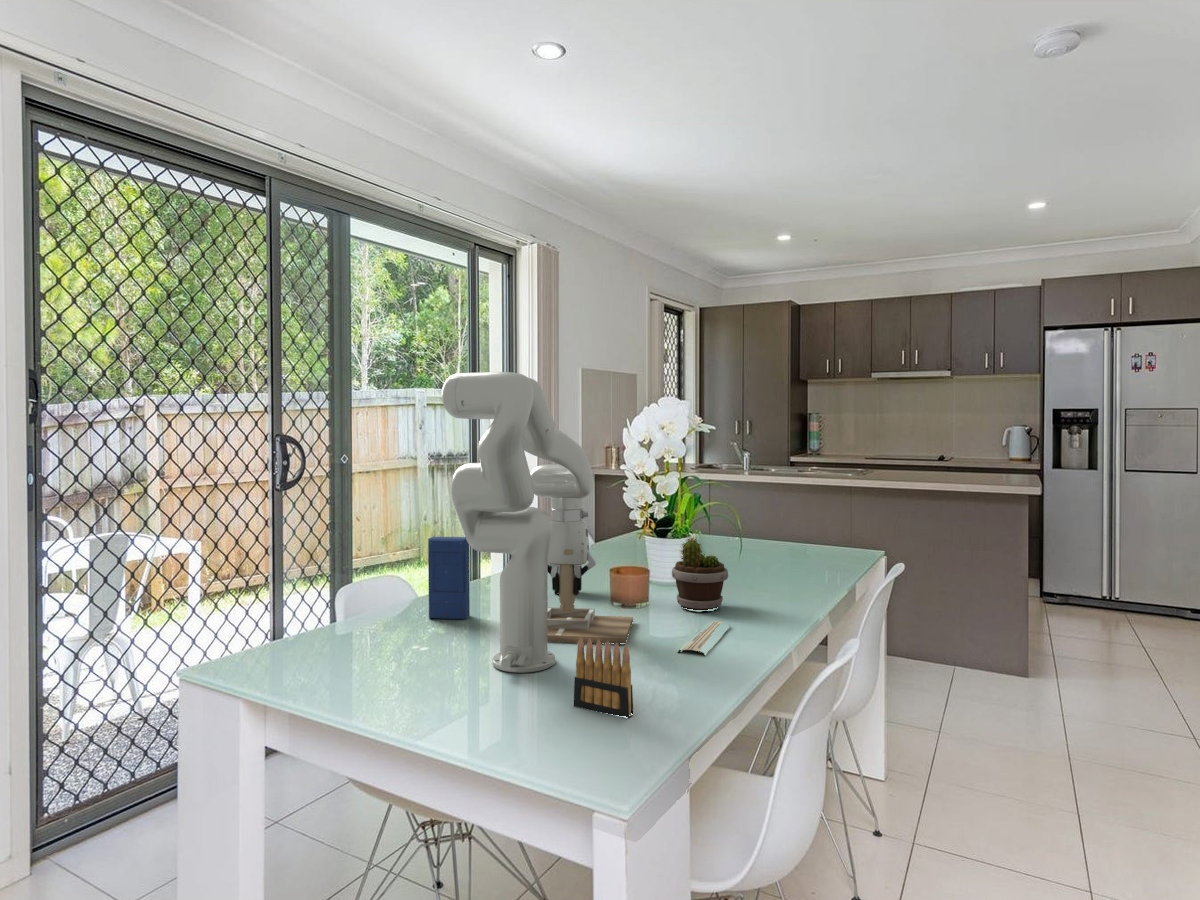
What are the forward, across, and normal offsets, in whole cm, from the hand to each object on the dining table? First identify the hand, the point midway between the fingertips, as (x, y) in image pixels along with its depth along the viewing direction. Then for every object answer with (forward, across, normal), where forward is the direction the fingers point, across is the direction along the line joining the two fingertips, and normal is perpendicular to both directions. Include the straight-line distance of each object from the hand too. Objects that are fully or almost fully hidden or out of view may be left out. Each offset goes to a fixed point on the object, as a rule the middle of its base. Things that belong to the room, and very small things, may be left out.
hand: (566, 592), depth 171 cm
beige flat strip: (+9, -32, +4) cm, 34 cm away
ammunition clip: (+9, -15, +48) cm, 51 cm away
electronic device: (+9, +31, -6) cm, 33 cm away
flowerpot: (+9, -31, -24) cm, 40 cm away
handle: (+4, 0, 0) cm, 4 cm away
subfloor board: (+9, -4, +2) cm, 10 cm away
